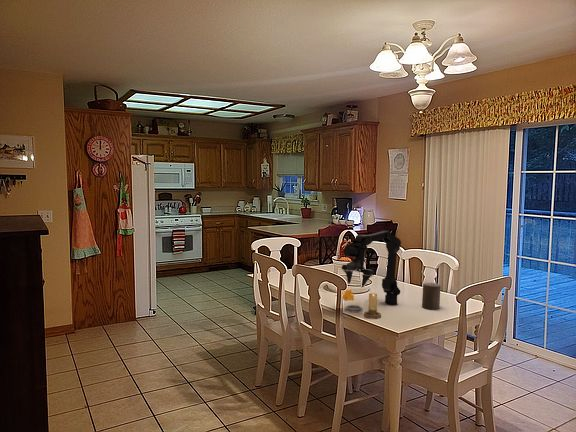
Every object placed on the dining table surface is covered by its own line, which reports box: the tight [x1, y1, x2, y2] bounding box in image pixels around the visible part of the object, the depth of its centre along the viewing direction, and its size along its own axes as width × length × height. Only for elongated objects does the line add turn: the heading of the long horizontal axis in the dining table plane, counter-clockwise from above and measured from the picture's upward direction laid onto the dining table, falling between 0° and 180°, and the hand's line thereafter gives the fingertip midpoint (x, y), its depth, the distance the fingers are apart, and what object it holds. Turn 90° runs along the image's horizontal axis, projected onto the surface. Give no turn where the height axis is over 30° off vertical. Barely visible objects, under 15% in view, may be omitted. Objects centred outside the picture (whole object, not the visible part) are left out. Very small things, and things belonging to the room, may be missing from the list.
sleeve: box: [367, 292, 378, 315], centre depth 232 cm, size 4×4×12 cm
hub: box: [344, 304, 364, 313], centre depth 244 cm, size 10×10×1 cm
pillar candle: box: [421, 282, 441, 311], centre depth 250 cm, size 10×10×15 cm
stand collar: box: [363, 310, 382, 320], centre depth 233 cm, size 9×9×1 cm
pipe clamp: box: [342, 289, 355, 301], centre depth 269 cm, size 12×4×6 cm, turn 22°
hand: (355, 285), depth 240 cm, fingers open, 9 cm apart
